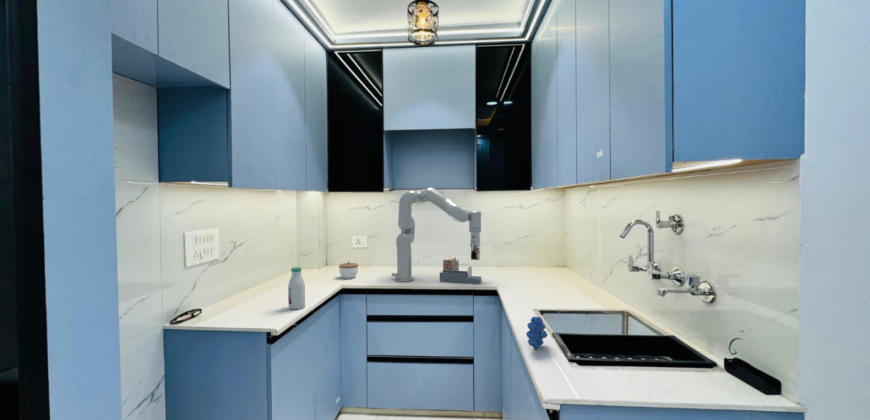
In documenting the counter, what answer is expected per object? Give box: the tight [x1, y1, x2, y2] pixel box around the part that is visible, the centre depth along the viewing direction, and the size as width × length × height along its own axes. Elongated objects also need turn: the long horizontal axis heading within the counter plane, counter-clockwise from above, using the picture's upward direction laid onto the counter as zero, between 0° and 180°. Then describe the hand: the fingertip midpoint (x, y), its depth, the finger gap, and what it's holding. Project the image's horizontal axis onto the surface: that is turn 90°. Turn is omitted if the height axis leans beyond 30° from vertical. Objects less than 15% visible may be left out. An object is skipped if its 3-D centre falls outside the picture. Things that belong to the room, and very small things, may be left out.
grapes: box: [525, 316, 548, 350], centre depth 126 cm, size 12×7×12 cm, turn 137°
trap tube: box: [439, 269, 482, 285], centre depth 230 cm, size 26×9×6 cm, turn 75°
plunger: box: [466, 266, 473, 278], centre depth 229 cm, size 10×6×6 cm, turn 75°
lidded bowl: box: [338, 261, 359, 280], centre depth 241 cm, size 13×13×11 cm
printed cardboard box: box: [442, 256, 460, 271], centre depth 252 cm, size 21×6×12 cm, turn 163°
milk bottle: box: [287, 266, 306, 310], centre depth 175 cm, size 8×8×20 cm
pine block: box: [470, 247, 481, 261], centre depth 227 cm, size 5×5×7 cm
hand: (474, 257), depth 227 cm, fingers closed on pine block, 5 cm apart
